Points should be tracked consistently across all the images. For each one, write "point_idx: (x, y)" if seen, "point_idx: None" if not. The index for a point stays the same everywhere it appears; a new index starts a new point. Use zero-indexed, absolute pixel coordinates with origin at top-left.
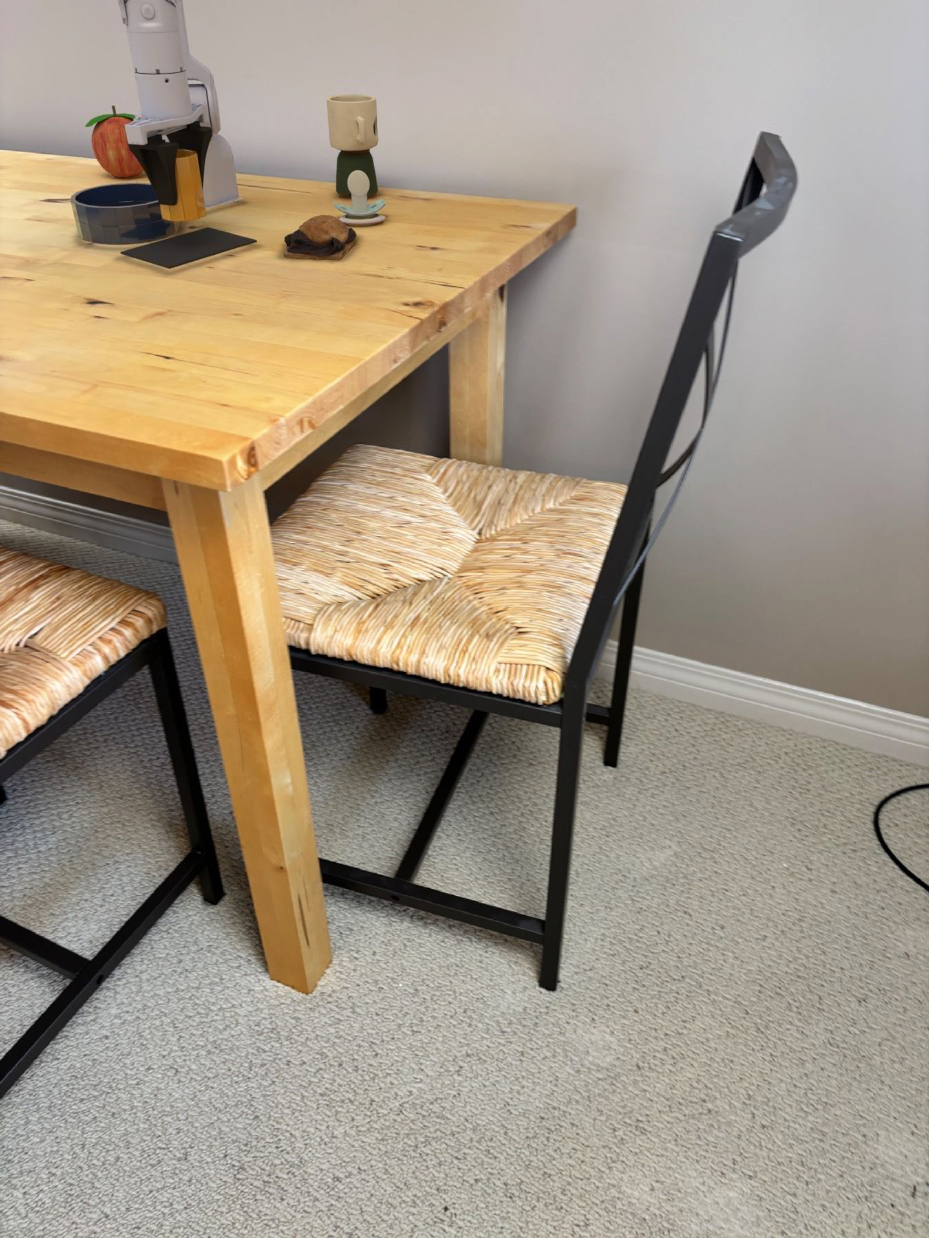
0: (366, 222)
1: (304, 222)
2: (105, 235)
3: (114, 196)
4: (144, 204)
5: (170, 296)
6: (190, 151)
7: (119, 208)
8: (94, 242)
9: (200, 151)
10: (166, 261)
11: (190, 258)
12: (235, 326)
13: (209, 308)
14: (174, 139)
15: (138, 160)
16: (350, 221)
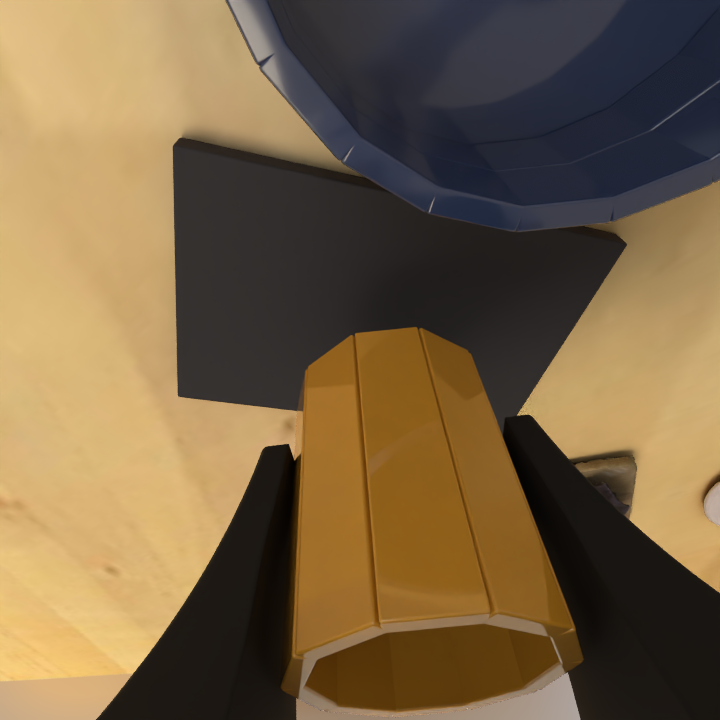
0: (707, 517)
1: (613, 499)
2: None
3: None
4: (417, 203)
5: (71, 465)
6: (533, 680)
7: (284, 97)
8: None
9: (572, 680)
10: (207, 365)
11: (274, 398)
12: (74, 586)
13: (93, 537)
14: (645, 699)
15: (140, 672)
16: (710, 501)
